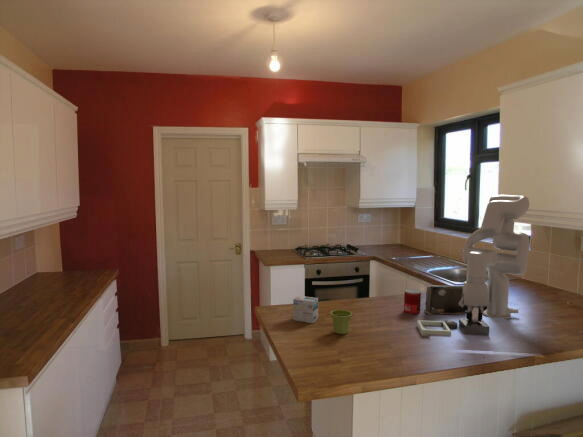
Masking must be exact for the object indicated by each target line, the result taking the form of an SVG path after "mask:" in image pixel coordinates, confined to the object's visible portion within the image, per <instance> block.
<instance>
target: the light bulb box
mask: <svg viewBox="0 0 583 437" xmlns="http://www.w3.org/2000/svg"><path fill="white" fill-rule="evenodd" d="M292 299H293V300H292V303H293V304H292V314H293V315H292V316H293V317H292V320H293V321H297V322H303V323H308V324H314V323H316V322H317V320H319V297H313V296H311V297H310V296H304V295H297V296H296V297H294V298H292Z"/></svg>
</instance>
